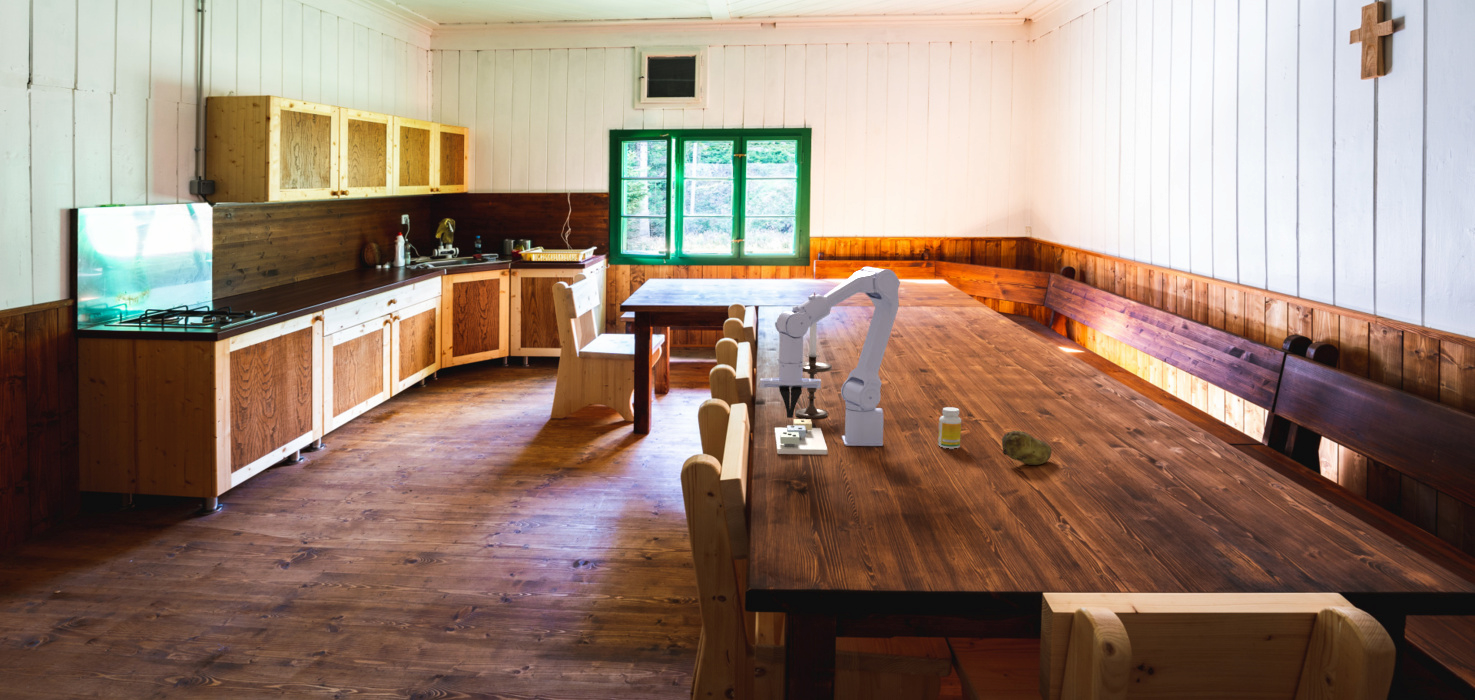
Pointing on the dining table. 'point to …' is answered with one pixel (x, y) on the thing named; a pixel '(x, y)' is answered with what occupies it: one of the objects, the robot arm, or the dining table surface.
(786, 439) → the tile three
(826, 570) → the dining table surface
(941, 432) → the supplement bottle
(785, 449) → the panel
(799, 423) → the tile one
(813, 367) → the candlestick
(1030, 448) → the potato
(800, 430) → the tile two
